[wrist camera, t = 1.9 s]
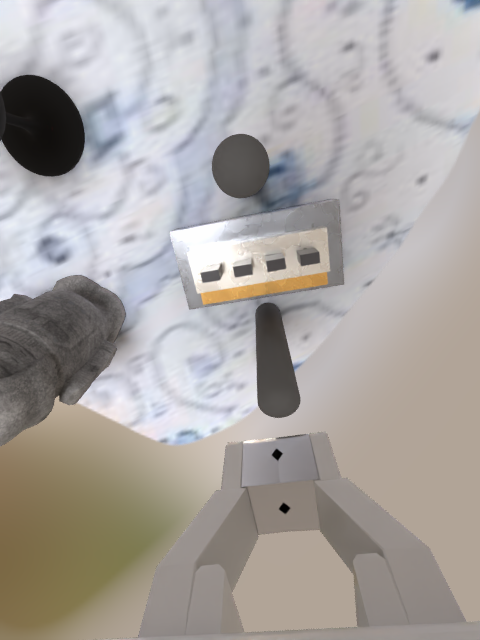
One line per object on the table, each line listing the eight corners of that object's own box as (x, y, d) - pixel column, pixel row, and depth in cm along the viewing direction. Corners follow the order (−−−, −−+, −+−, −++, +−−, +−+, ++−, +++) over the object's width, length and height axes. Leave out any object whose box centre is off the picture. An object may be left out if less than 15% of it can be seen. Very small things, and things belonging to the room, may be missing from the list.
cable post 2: (253, 304, 44) (254, 385, 25) (278, 300, 43) (297, 379, 25) (257, 327, 45) (261, 420, 27) (281, 323, 45) (302, 415, 26)
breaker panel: (176, 228, 40) (164, 234, 34) (330, 199, 38) (344, 199, 32) (194, 299, 44) (186, 315, 38) (335, 276, 42) (348, 288, 36)
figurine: (119, 357, 48) (-5, 509, 25) (32, 311, 45) (-195, 433, 22) (145, 309, 45) (31, 433, 22) (54, 257, 42) (-187, 333, 19)
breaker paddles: (203, 267, 36) (200, 272, 33) (314, 247, 34) (319, 251, 32) (206, 276, 36) (202, 283, 33) (315, 257, 35) (320, 263, 32)
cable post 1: (229, 167, 37) (206, 140, 19) (258, 161, 37) (264, 128, 18) (234, 198, 38) (218, 202, 20) (262, 193, 38) (273, 192, 20)
